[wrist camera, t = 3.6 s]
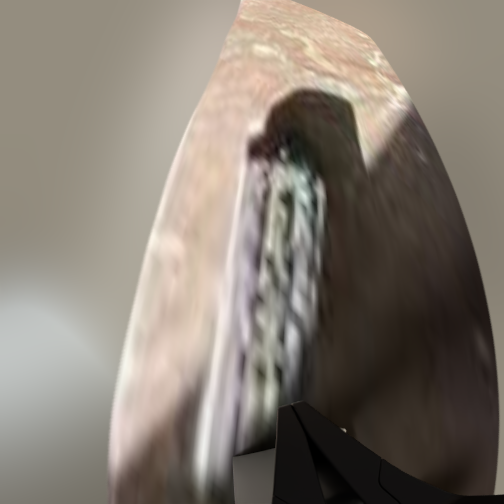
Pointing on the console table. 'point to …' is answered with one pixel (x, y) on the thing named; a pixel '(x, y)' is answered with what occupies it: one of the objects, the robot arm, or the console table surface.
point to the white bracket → (254, 477)
